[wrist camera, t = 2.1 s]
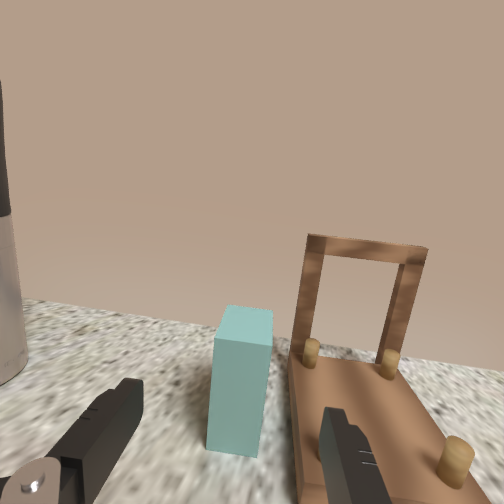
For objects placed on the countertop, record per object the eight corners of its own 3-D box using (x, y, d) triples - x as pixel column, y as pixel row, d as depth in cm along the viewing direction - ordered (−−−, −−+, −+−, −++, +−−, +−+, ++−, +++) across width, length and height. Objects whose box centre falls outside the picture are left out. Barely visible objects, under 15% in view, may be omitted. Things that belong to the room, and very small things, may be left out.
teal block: (205, 449, 23) (214, 337, 20) (219, 396, 28) (227, 304, 26) (256, 457, 22) (272, 346, 20) (260, 402, 28) (272, 310, 26)
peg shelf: (298, 513, 19) (345, 279, 14) (287, 366, 34) (307, 233, 30) (485, 545, 18) (592, 310, 14) (386, 380, 34) (422, 246, 29)
